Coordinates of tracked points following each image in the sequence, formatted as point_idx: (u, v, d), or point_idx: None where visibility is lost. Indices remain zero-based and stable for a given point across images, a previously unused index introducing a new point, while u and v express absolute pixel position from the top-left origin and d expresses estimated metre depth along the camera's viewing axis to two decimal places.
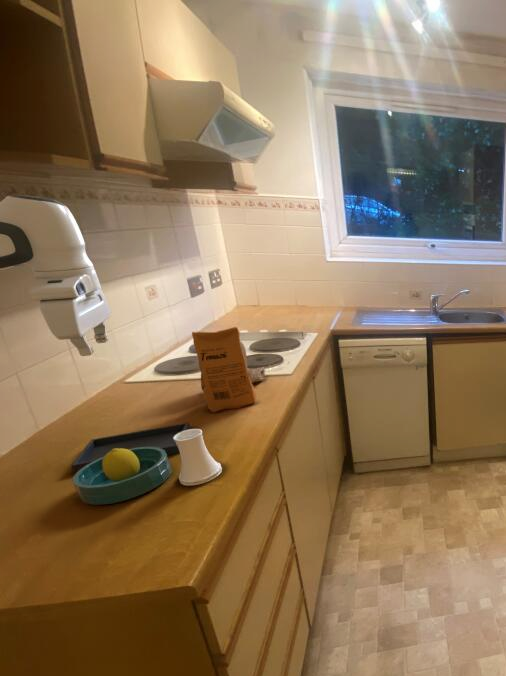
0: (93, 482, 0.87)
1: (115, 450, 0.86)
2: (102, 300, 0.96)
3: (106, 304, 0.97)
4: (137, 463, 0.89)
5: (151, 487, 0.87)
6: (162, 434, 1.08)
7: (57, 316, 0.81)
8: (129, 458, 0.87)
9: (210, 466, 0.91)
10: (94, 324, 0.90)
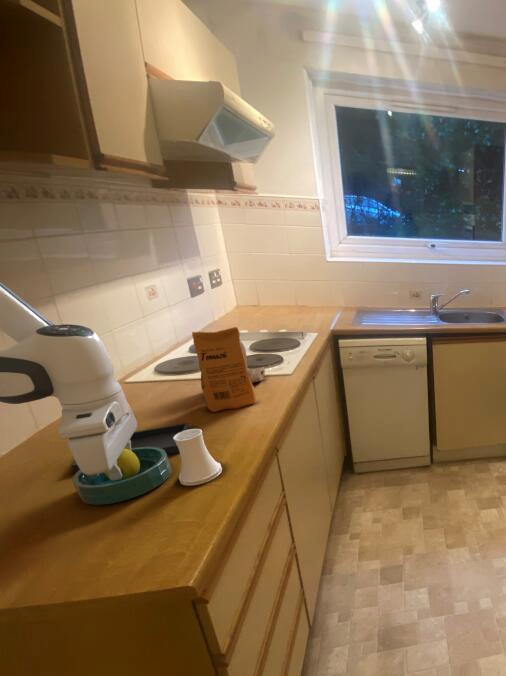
0: (93, 482, 0.87)
1: None
2: (129, 414, 0.92)
3: (132, 417, 0.93)
4: (137, 463, 0.89)
5: (151, 487, 0.87)
6: (162, 434, 1.08)
7: (87, 454, 0.77)
8: (129, 458, 0.87)
9: (210, 466, 0.91)
10: (122, 448, 0.86)
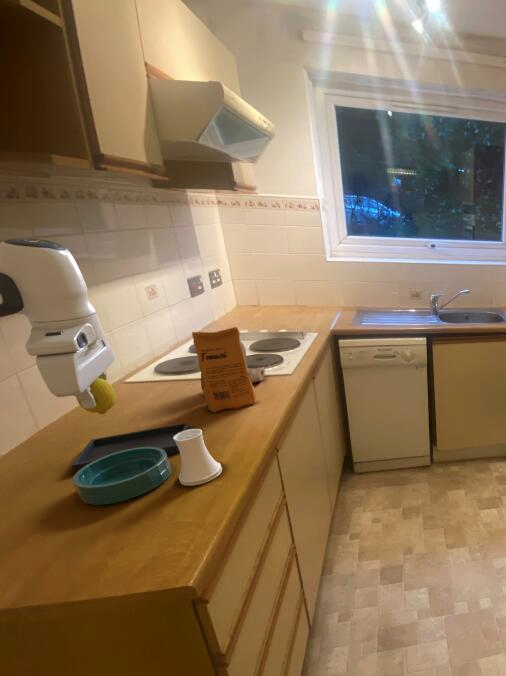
0: (93, 482, 0.87)
1: None
2: (105, 345, 0.88)
3: (109, 349, 0.90)
4: (112, 394, 0.85)
5: (151, 487, 0.87)
6: (162, 434, 1.08)
7: (56, 373, 0.73)
8: (104, 387, 0.84)
9: (210, 466, 0.91)
10: (96, 375, 0.82)
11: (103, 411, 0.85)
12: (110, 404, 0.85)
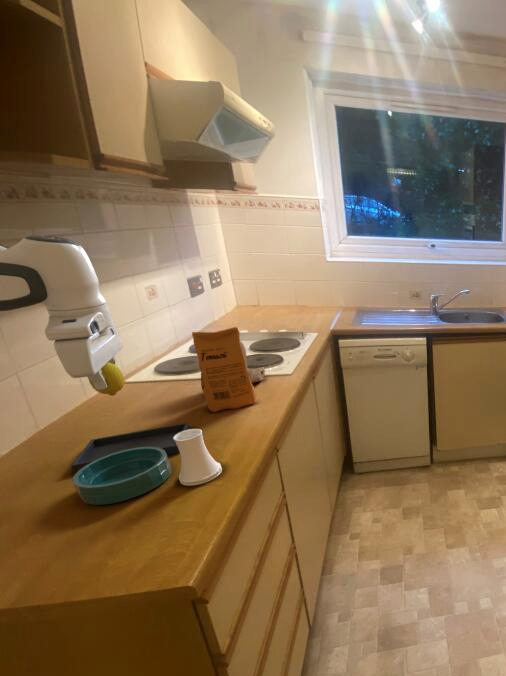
0: (93, 482, 0.87)
1: None
2: (114, 333, 0.97)
3: (118, 337, 0.98)
4: (121, 377, 0.94)
5: (151, 487, 0.87)
6: (162, 434, 1.08)
7: (72, 356, 0.82)
8: (114, 371, 0.92)
9: (210, 466, 0.91)
10: (107, 359, 0.91)
11: (113, 393, 0.94)
12: (119, 386, 0.94)
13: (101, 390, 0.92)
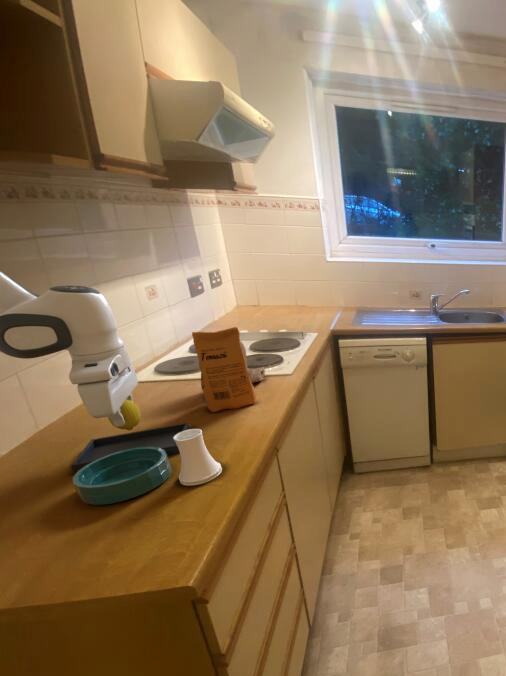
0: (93, 482, 0.87)
1: None
2: (130, 371, 1.02)
3: (134, 374, 1.04)
4: (138, 413, 0.99)
5: (151, 487, 0.87)
6: (162, 434, 1.08)
7: (94, 398, 0.87)
8: (131, 408, 0.98)
9: (210, 466, 0.91)
10: (125, 398, 0.96)
11: (130, 428, 0.99)
12: (136, 422, 0.99)
13: (119, 426, 0.97)
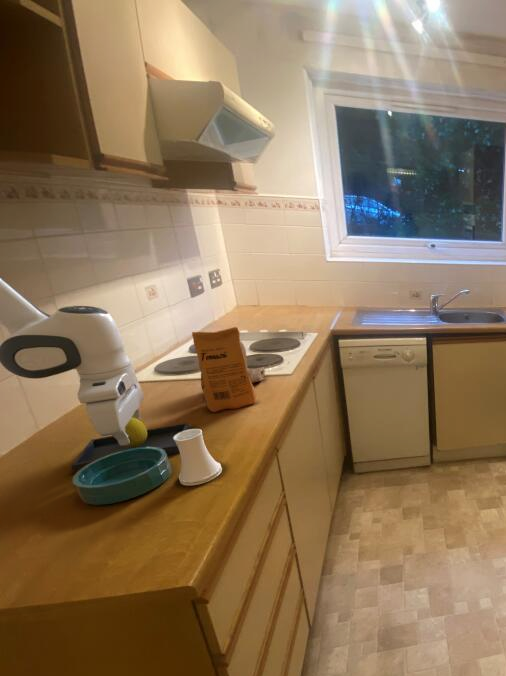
0: (93, 482, 0.87)
1: None
2: (136, 387, 1.04)
3: (140, 390, 1.05)
4: (144, 431, 1.01)
5: (151, 487, 0.87)
6: (162, 434, 1.08)
7: (101, 416, 0.89)
8: (138, 426, 0.99)
9: (210, 466, 0.91)
10: (131, 414, 0.98)
11: (137, 445, 1.01)
12: (143, 439, 1.01)
13: None
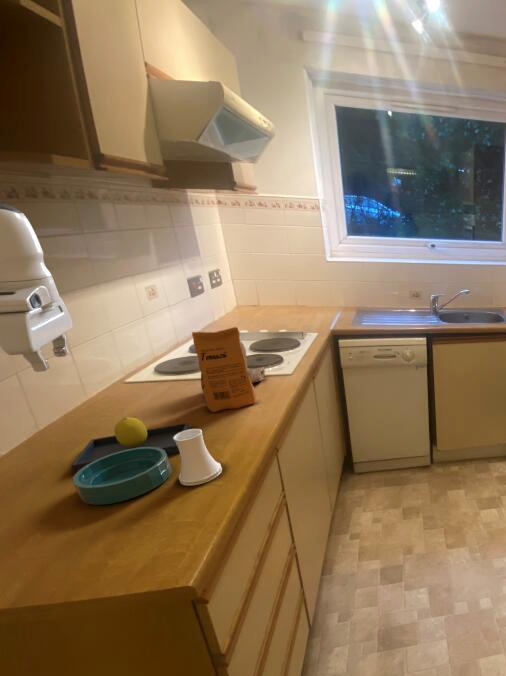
0: (93, 482, 0.87)
1: (126, 418, 0.99)
2: (63, 311, 0.91)
3: (67, 315, 0.92)
4: (144, 431, 1.01)
5: (151, 487, 0.87)
6: (162, 434, 1.08)
7: (7, 330, 0.76)
8: (138, 426, 0.99)
9: (210, 466, 0.91)
10: (51, 338, 0.85)
11: (137, 445, 1.01)
12: (143, 439, 1.01)
13: (126, 444, 0.99)
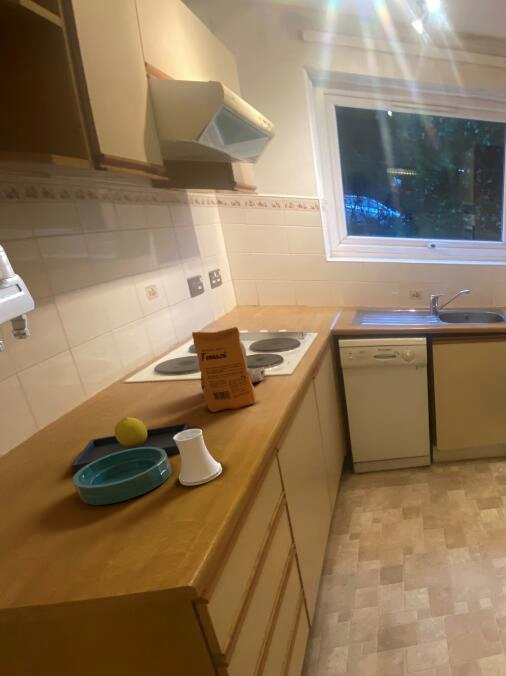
0: (93, 482, 0.87)
1: (126, 418, 0.99)
2: (22, 291, 0.85)
3: (27, 295, 0.86)
4: (144, 431, 1.01)
5: (151, 487, 0.87)
6: (162, 434, 1.08)
7: None
8: (138, 426, 0.99)
9: (210, 466, 0.91)
10: (6, 317, 0.79)
11: (137, 445, 1.01)
12: (143, 439, 1.01)
13: (126, 444, 0.99)
